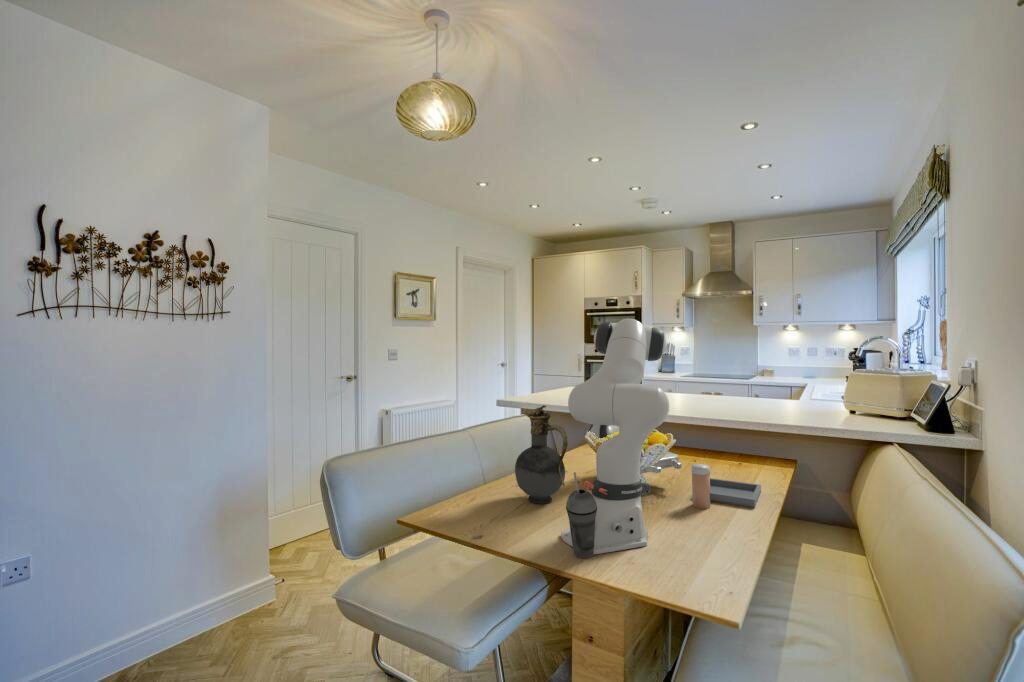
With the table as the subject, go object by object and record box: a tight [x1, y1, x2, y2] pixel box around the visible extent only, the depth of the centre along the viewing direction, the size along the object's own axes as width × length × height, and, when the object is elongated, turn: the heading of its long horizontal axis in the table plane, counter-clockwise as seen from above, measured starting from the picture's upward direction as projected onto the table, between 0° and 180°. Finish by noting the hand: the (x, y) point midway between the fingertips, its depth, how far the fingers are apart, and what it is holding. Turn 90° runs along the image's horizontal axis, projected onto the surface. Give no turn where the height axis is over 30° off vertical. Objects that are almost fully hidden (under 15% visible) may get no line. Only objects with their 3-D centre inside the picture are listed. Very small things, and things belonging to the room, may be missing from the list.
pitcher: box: [514, 404, 569, 505], centre depth 152 cm, size 11×19×30 cm, turn 43°
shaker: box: [691, 463, 711, 510], centre depth 146 cm, size 5×5×12 cm
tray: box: [710, 477, 762, 509], centre depth 156 cm, size 17×17×2 cm
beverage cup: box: [565, 471, 597, 560], centre depth 113 cm, size 7×7×20 cm
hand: (669, 468), depth 157 cm, fingers open, 8 cm apart
